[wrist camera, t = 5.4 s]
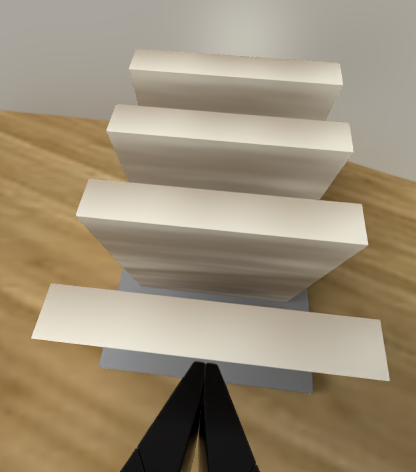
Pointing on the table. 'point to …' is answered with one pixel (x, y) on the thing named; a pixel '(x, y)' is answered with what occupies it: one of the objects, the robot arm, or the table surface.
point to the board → (229, 370)
